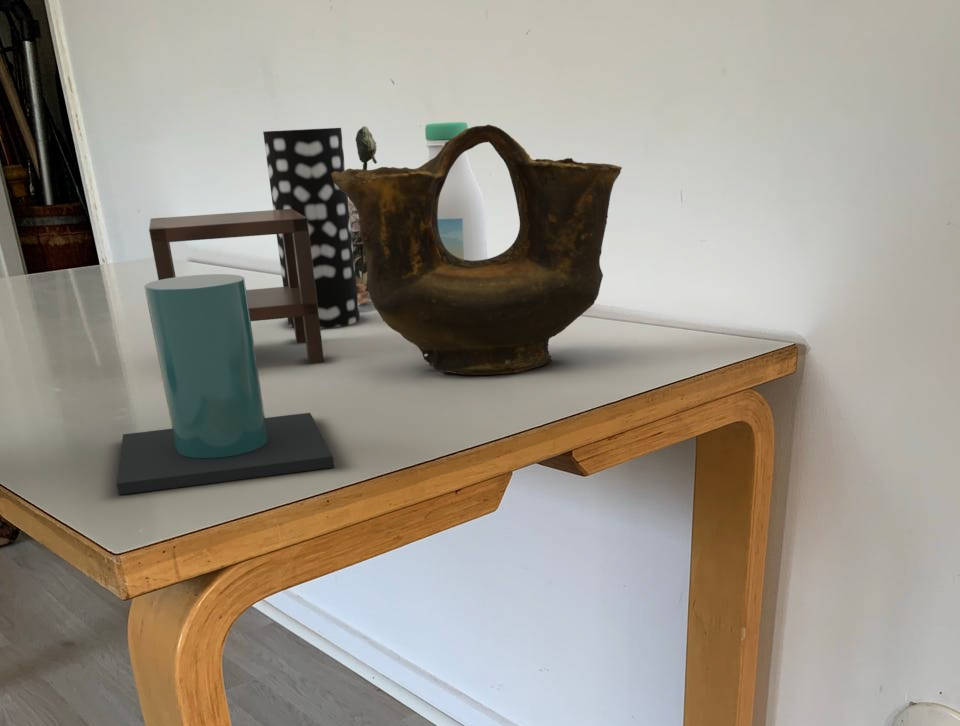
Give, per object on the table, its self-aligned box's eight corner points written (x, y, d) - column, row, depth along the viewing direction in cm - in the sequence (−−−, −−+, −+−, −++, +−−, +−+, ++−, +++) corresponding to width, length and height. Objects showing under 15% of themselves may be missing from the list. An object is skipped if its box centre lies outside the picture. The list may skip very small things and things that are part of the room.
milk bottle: (464, 307, 120) (455, 121, 111) (503, 314, 114) (496, 120, 105) (411, 316, 116) (396, 125, 107) (448, 324, 110) (436, 123, 101)
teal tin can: (176, 463, 66) (143, 292, 61) (175, 430, 74) (145, 275, 69) (272, 451, 68) (247, 283, 63) (261, 420, 75) (238, 267, 70)
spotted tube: (331, 330, 110) (309, 129, 101) (273, 326, 114) (246, 132, 105) (373, 317, 117) (356, 126, 107) (317, 314, 120) (295, 129, 111)
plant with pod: (381, 295, 131) (367, 125, 122) (401, 308, 121) (387, 125, 112) (321, 301, 129) (301, 129, 120) (336, 314, 119) (316, 128, 110)
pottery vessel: (357, 390, 85) (331, 132, 76) (347, 363, 95) (323, 132, 86) (633, 365, 89) (640, 117, 80) (597, 342, 99) (600, 118, 89)
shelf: (176, 377, 93) (148, 229, 87) (175, 352, 103) (150, 218, 97) (324, 361, 96) (307, 217, 90) (308, 339, 106) (292, 208, 100)
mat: (118, 495, 64) (116, 483, 63) (125, 444, 74) (122, 434, 74) (334, 467, 67) (333, 456, 66) (311, 422, 77) (310, 412, 77)
